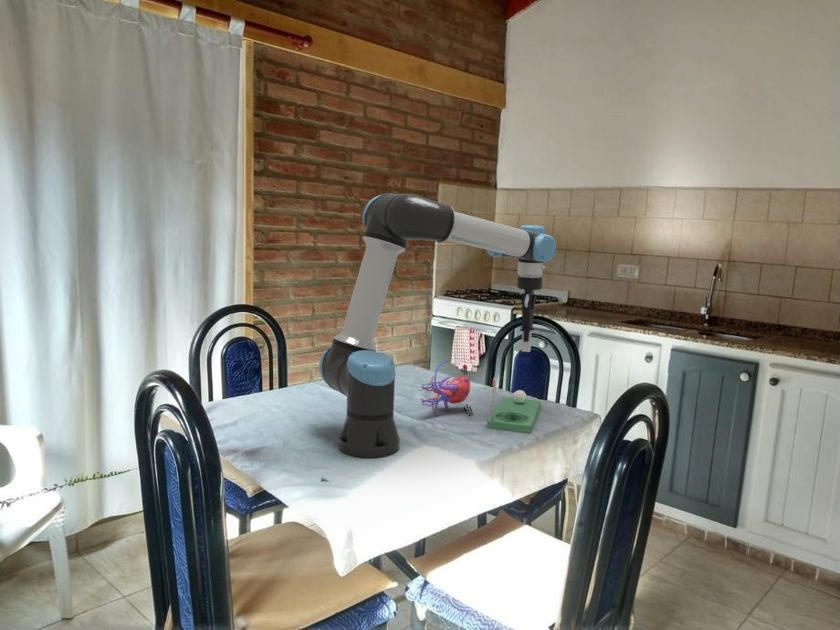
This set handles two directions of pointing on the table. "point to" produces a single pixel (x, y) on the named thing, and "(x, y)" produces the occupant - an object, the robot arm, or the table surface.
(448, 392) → the heart model
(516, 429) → the green
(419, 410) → the table surface
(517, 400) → the ball
